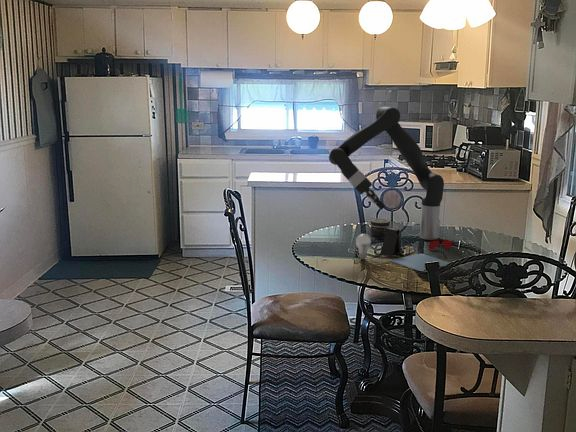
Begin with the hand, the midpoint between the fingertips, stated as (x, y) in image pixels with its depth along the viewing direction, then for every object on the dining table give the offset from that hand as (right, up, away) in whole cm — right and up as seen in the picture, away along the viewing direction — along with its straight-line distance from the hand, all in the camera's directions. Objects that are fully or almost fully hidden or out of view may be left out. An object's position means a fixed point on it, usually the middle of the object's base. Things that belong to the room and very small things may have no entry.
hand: (383, 208), depth 281 cm
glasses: (+31, -22, 0) cm, 38 cm away
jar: (+3, -14, +30) cm, 34 cm away
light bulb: (-11, -23, -12) cm, 29 cm away
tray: (+15, -25, -17) cm, 33 cm away
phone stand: (+4, -21, -2) cm, 22 cm away
